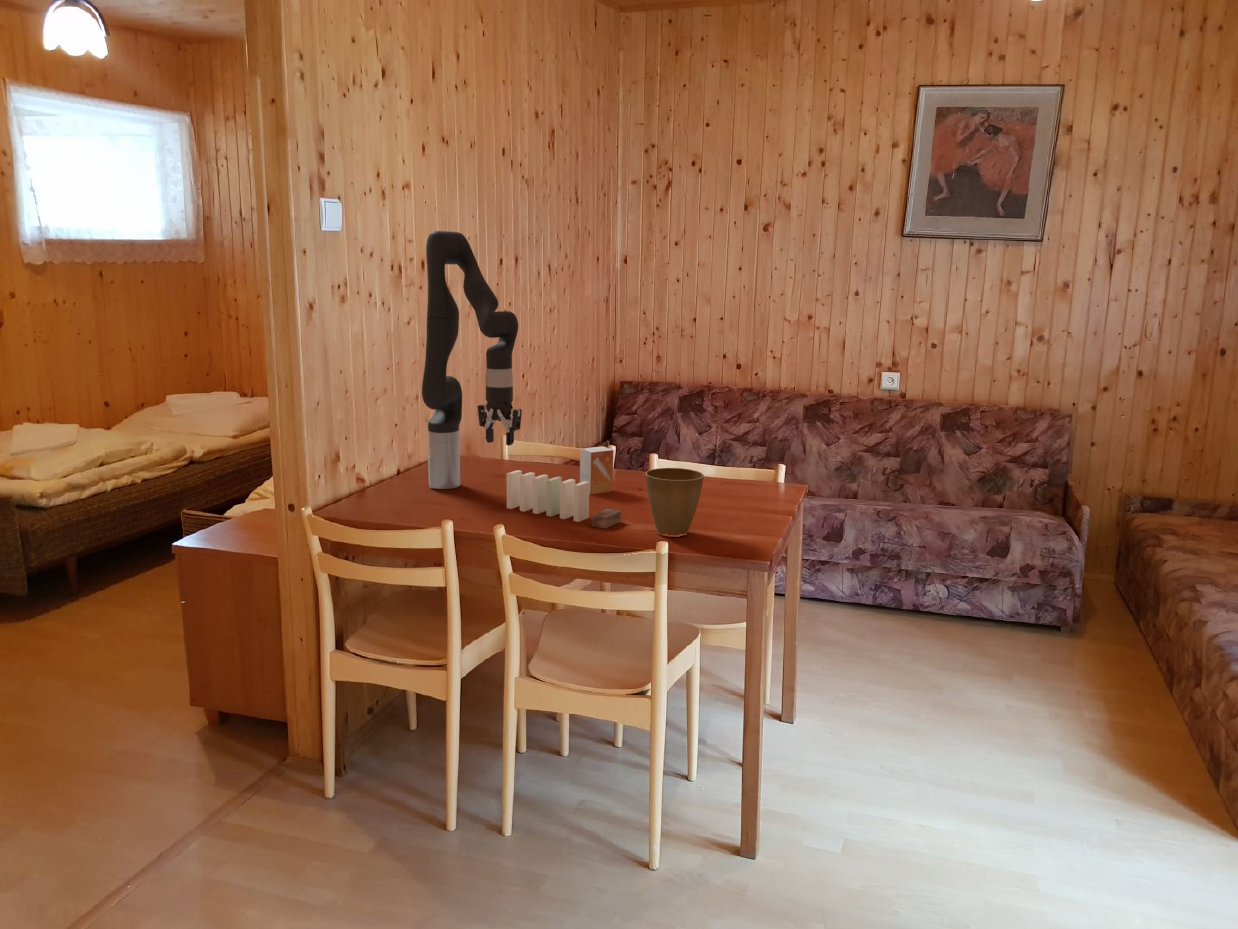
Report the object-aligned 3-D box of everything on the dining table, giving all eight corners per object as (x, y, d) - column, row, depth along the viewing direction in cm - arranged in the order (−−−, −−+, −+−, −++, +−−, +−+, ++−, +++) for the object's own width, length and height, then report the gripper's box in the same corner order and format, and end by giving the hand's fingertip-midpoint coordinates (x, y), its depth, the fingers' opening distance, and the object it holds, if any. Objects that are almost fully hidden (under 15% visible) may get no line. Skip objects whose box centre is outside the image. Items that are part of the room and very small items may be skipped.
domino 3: (532, 513, 267) (532, 477, 264) (543, 509, 271) (543, 474, 269) (537, 514, 266) (537, 478, 264) (548, 510, 270) (548, 475, 268)
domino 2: (519, 510, 269) (519, 475, 267) (530, 506, 273) (530, 472, 271) (524, 511, 268) (524, 476, 266) (534, 507, 272) (534, 472, 270)
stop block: (591, 526, 255) (592, 515, 255) (607, 519, 262) (608, 508, 261) (604, 528, 253) (605, 517, 253) (620, 521, 260) (620, 511, 259)
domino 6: (573, 521, 260) (574, 484, 258) (583, 516, 264) (584, 481, 262) (578, 521, 259) (579, 485, 257) (588, 517, 263) (589, 482, 261)
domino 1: (506, 508, 271) (506, 473, 269) (517, 504, 275) (517, 470, 273) (511, 509, 270) (511, 474, 268) (522, 505, 275) (522, 470, 272)
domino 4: (546, 515, 265) (546, 480, 262) (556, 511, 269) (556, 476, 266) (551, 516, 264) (551, 480, 261) (561, 512, 268) (561, 477, 266)
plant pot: (706, 542, 244) (708, 480, 240) (647, 542, 243) (648, 480, 239) (696, 525, 258) (698, 466, 255) (641, 525, 257) (642, 466, 253)
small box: (590, 495, 287) (590, 452, 284) (579, 490, 292) (579, 448, 289) (613, 492, 291) (614, 449, 288) (601, 487, 296) (602, 445, 293)
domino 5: (559, 518, 262) (560, 482, 260) (570, 514, 266) (570, 478, 264) (564, 519, 261) (564, 483, 259) (574, 515, 266) (575, 479, 263)
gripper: (528, 385, 267) (528, 444, 271) (487, 380, 274) (487, 438, 278) (511, 388, 261) (512, 449, 265) (470, 383, 268) (471, 442, 272)
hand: (499, 443), depth 271 cm, fingers open, 6 cm apart
